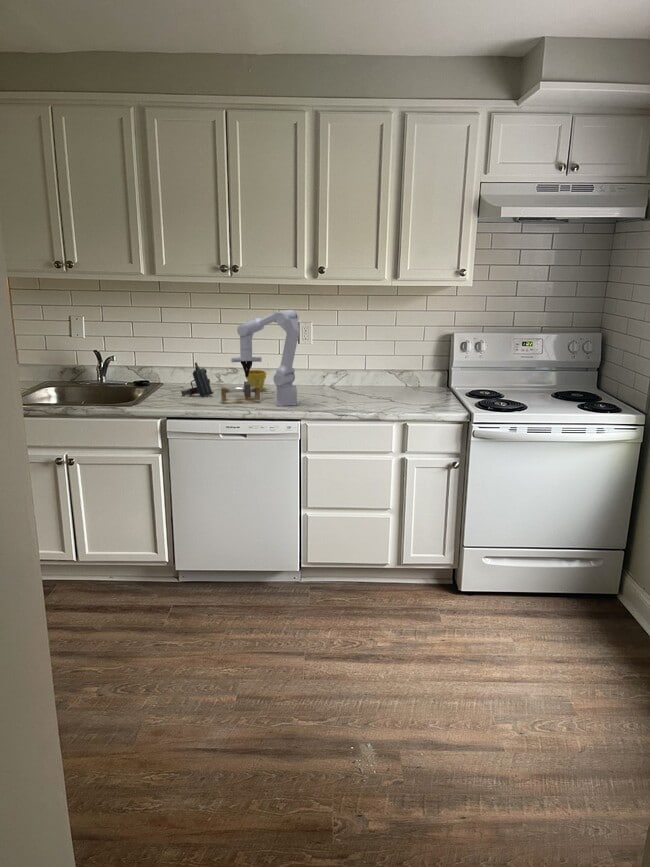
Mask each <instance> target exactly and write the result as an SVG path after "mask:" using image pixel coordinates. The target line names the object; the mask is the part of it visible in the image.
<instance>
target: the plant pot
mask: <svg viewBox="0 0 650 867" xmlns="http://www.w3.org/2000/svg"><path fill="white" fill-rule="evenodd" d="M266 378H267V371H265V370H262V369H250V371H249V376H248V377H245V379H246V380H247V381H246V382H248V381H249V383H250V387H255V386H259V387H260V392H262V391H263V390H264V385H265V380H266Z"/></svg>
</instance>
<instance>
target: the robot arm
mask: <svg viewBox="0 0 650 867" xmlns="http://www.w3.org/2000/svg"><path fill="white" fill-rule="evenodd" d="M299 318H300V317H299V315H298V314H297V312H296V311H295V310H294V309H288V310H279V311H276V312H273V313H270V314H269V315H267V316H265V317H263V318H259V317H254V318H252V320H250V321H248V320H247V321H246V322H245V323H240V324H239V325H238V326H237V328H236V329H237V330H236V331H237V335H239V346H240V347H239V349H240V351H239V353H240V354H239V355H240V356H239V357H231V358H230V362H231V363H233V364H234V363H240V364H241V366H242V368H243V372H244V377H245V378H246V377H248V376H249V371H250V370H251V367H252V366H253V363H255V362H260V363H261V362H263V361H262V356H258V357H257V356H253V338H254V337H253V336H254V334H255V333H257V332H261V331H262V330H264V327H265V326H267V325H269V324H272V323H276V324H277V325H278V326H279V327H280V328H282V330H283V331H285V333H286V334H285V341H284V345H283V351H282V356H281V361H280V365H279V366H278V367H277V369H276V371H275V374H274V375H273V378H272V380H273V383H274V384H275V387H276V400H275V401H274V403H275V405H276V406H277V407H280V406H281V407H286V406H298V404H297V403H298V398H297V396H298V392H297V390H298V389H297V385H293V384H294V382H295V379H296V374H295V371H296V369H294V367H293V366H294V365H293V364H294V359H295V354H296V350H297V346H298V345H297V344H298V339H299V335H300V326H299V325H300V324H299Z"/></svg>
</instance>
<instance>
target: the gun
mask: <svg viewBox="0 0 650 867" xmlns="http://www.w3.org/2000/svg"><path fill="white" fill-rule="evenodd" d="M194 365H195V368H194V370H193V372H192V378H193V379H192V380H191V381H190V386H191V387H190V388H188V389H185V390H184V389H183V390H181V391H180V392H181V396H182V397H185V396H188V395H189V396H190V397H192V396H193V395H199V396H200V397H201V398H203V397H207V396H211V395H214V391H212V386H211V384H210V383H211V379H210V378H208V375H207V373H208V371H207V369H206V368H205V367H203V368H202V367H201V368H200V366H199V365H198V362H194ZM193 382H194V383H195V384H194V383H193ZM194 386H195V387H194Z"/></svg>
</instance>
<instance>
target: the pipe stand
mask: <svg viewBox="0 0 650 867" xmlns="http://www.w3.org/2000/svg"><path fill="white" fill-rule="evenodd" d="M250 390H251V393H253V392H254V397H251V398H245V397H236V398H235V397H234V398H233V397H232V398H229V397H228V398H227V393H228V394H229V393H231V394H233V393H244V392H245V387H244V386H240V387H239V386H238V387H237V386H236V387H234V386H233V387H225V386H220V394H221V396H220V397H221V400H220V401H221V404H222V405H239V404H242V405H243V404H260V403H261V391H260V387H259V386H255V387H250Z"/></svg>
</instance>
